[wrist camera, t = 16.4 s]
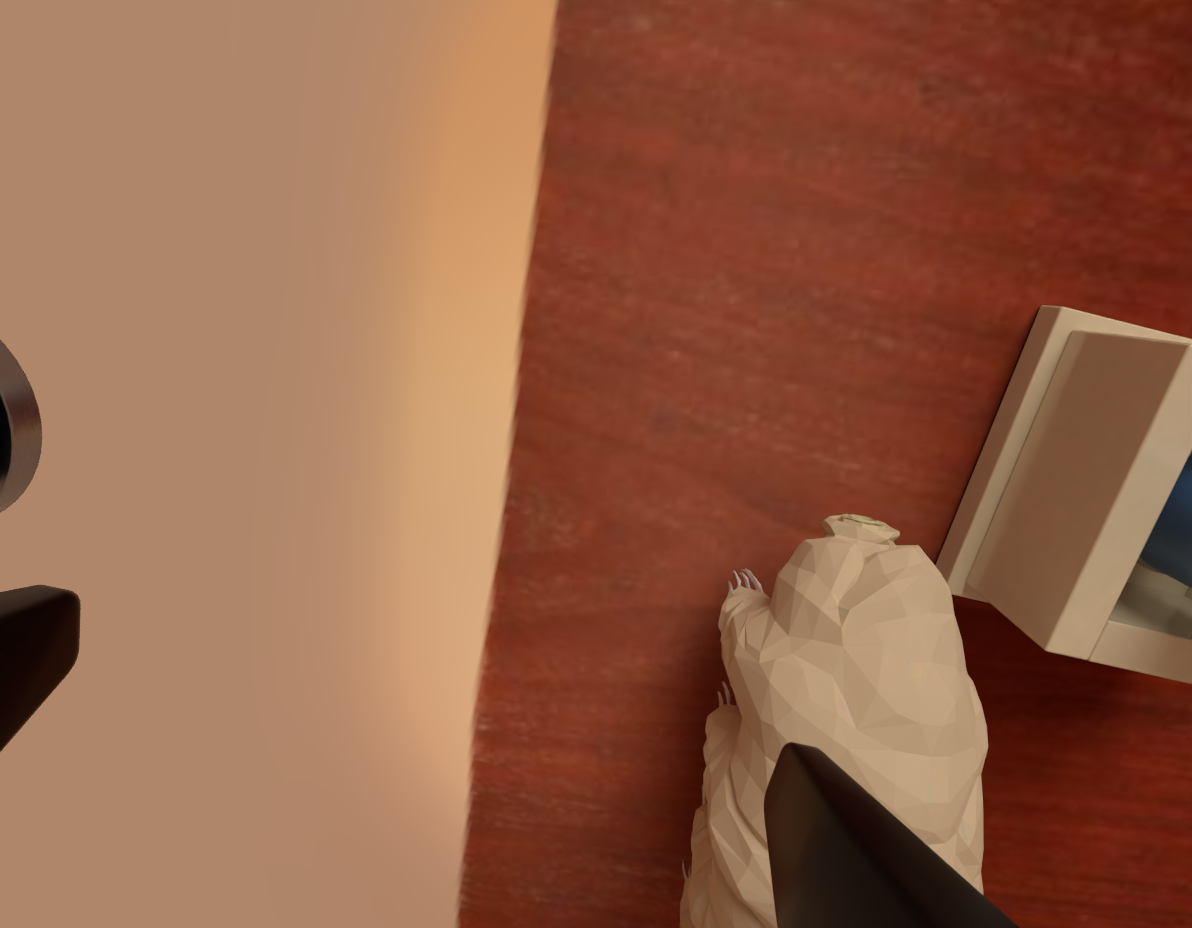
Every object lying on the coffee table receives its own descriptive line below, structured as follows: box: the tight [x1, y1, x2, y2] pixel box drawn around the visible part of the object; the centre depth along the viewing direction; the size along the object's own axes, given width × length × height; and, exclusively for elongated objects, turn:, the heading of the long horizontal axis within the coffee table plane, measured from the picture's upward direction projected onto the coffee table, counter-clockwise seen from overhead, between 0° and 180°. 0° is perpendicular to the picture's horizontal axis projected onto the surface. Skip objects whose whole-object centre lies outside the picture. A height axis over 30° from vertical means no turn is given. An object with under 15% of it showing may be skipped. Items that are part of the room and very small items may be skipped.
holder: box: [935, 305, 1192, 684], centre depth 19 cm, size 9×9×5 cm
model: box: [680, 514, 988, 928], centre depth 19 cm, size 7×18×10 cm, turn 173°
